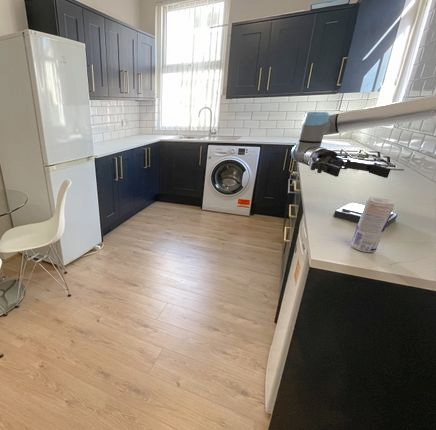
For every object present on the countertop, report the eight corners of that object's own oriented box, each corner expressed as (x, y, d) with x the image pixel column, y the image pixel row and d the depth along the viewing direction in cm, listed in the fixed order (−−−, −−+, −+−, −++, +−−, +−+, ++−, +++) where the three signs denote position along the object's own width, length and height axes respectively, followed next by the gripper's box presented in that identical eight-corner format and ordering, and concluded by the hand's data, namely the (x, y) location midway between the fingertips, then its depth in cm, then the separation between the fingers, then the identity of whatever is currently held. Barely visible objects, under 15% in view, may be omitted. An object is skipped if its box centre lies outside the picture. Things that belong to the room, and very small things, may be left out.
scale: (395, 220, 100) (398, 212, 99) (382, 230, 92) (385, 221, 91) (348, 209, 110) (350, 201, 109) (333, 216, 103) (335, 208, 102)
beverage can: (380, 254, 78) (401, 204, 72) (357, 252, 79) (376, 202, 73) (367, 244, 83) (385, 197, 77) (346, 243, 84) (362, 196, 78)
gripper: (354, 169, 102) (403, 186, 82) (282, 168, 104) (314, 183, 85) (361, 148, 99) (414, 160, 79) (287, 147, 101) (321, 159, 82)
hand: (362, 172), depth 82 cm, fingers open, 13 cm apart
